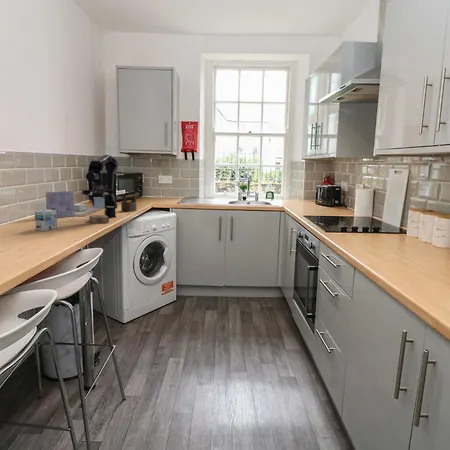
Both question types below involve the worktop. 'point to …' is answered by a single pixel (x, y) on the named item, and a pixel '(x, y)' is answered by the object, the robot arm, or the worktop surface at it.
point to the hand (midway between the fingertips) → (98, 205)
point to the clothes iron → (129, 203)
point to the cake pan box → (61, 203)
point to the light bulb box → (46, 220)
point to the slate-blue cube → (99, 202)
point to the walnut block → (99, 219)
